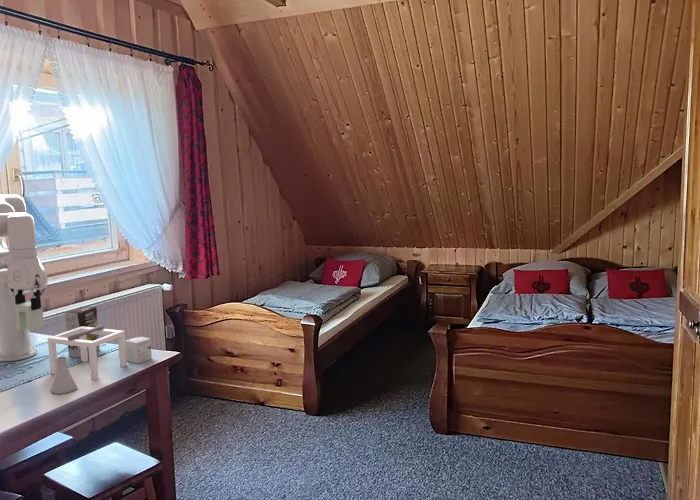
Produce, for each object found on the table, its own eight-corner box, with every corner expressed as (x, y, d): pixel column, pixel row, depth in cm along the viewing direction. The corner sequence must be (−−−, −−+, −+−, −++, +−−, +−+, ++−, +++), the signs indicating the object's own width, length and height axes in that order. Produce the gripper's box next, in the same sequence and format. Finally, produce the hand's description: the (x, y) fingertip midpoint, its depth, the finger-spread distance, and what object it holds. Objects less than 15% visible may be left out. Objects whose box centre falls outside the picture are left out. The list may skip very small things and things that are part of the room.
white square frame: (50, 374, 181) (47, 334, 179) (84, 360, 194) (81, 322, 192) (95, 380, 175) (91, 339, 173) (126, 365, 188) (124, 327, 186)
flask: (70, 383, 172) (68, 352, 171) (81, 389, 168) (79, 357, 166) (46, 391, 167) (43, 358, 165) (56, 397, 162) (53, 363, 161)
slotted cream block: (16, 329, 181) (14, 305, 180) (30, 325, 186) (28, 301, 185) (30, 330, 179) (28, 306, 178) (44, 326, 184) (41, 302, 183)
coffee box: (84, 357, 196) (80, 312, 194) (68, 356, 198) (64, 312, 195) (100, 349, 205) (97, 306, 203) (85, 348, 207) (81, 305, 204)
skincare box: (137, 364, 189) (135, 343, 188) (125, 361, 192) (124, 340, 191) (152, 358, 194) (150, 338, 193) (140, 355, 198) (139, 335, 196)
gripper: (-8, 254, 178) (-2, 309, 181) (33, 256, 173) (38, 313, 175) (13, 250, 185) (19, 303, 188) (53, 252, 180) (58, 307, 182)
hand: (28, 308), depth 182 cm, fingers closed on slotted cream block, 5 cm apart
